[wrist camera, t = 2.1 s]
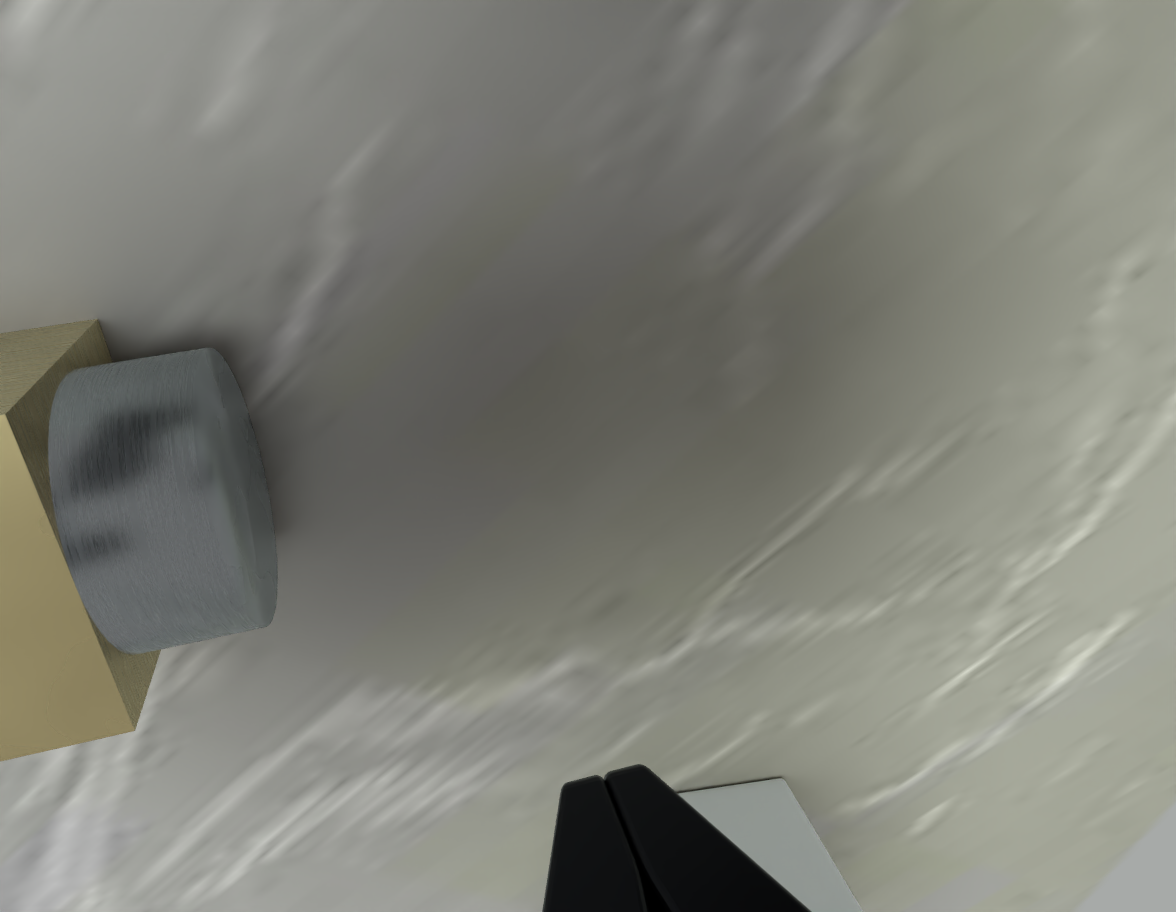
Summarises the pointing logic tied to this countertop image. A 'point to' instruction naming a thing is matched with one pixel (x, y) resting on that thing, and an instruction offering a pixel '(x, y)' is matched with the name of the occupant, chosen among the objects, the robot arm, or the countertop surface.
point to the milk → (777, 840)
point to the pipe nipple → (118, 527)
